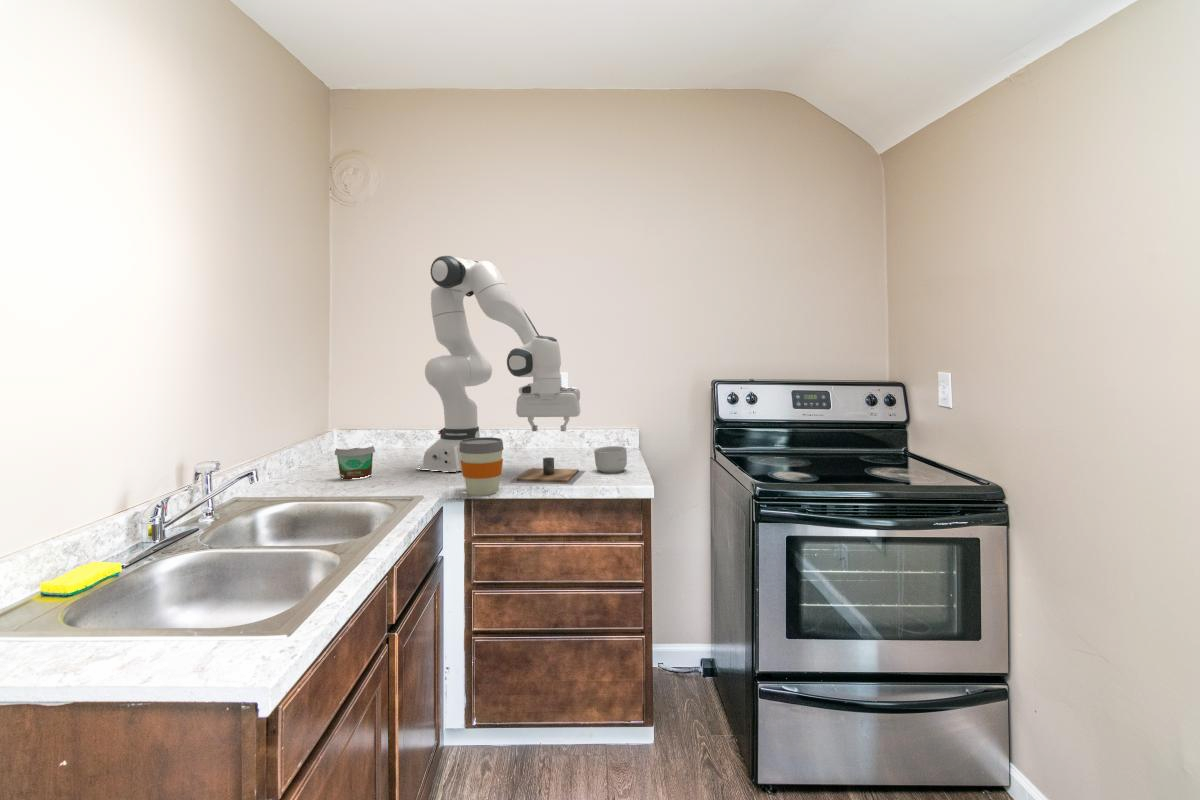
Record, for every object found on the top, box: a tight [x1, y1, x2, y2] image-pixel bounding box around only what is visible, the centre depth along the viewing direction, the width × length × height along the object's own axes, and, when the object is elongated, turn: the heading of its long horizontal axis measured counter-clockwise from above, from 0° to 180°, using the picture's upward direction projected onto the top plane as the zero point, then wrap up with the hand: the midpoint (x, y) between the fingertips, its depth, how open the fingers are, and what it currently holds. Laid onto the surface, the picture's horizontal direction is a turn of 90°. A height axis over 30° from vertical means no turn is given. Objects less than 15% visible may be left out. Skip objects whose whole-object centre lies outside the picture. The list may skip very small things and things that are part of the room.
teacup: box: [593, 445, 628, 474], centre depth 206 cm, size 14×11×8 cm
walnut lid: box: [517, 456, 580, 483], centre depth 196 cm, size 16×16×6 cm
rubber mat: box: [508, 468, 587, 486], centre depth 197 cm, size 20×20×1 cm
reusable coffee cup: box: [459, 436, 504, 497], centre depth 178 cm, size 12×12×15 cm
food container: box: [334, 445, 376, 480], centre depth 198 cm, size 12×6×10 cm, turn 118°
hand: (549, 431), depth 195 cm, fingers open, 8 cm apart
